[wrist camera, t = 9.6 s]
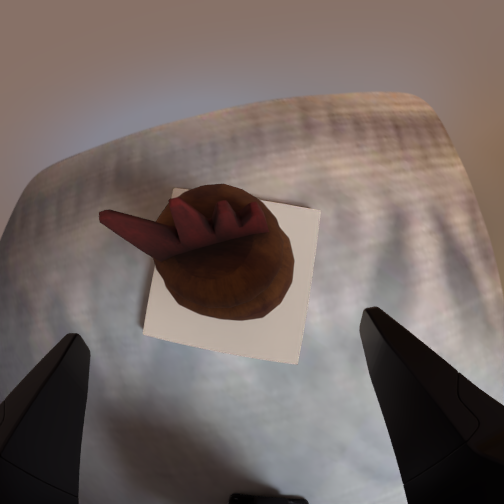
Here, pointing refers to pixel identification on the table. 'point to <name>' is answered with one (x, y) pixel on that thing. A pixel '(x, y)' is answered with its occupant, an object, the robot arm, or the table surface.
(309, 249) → the display tile
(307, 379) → the table surface
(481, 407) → the robot arm
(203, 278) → the wooden figurine
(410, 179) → the table surface
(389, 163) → the table surface
